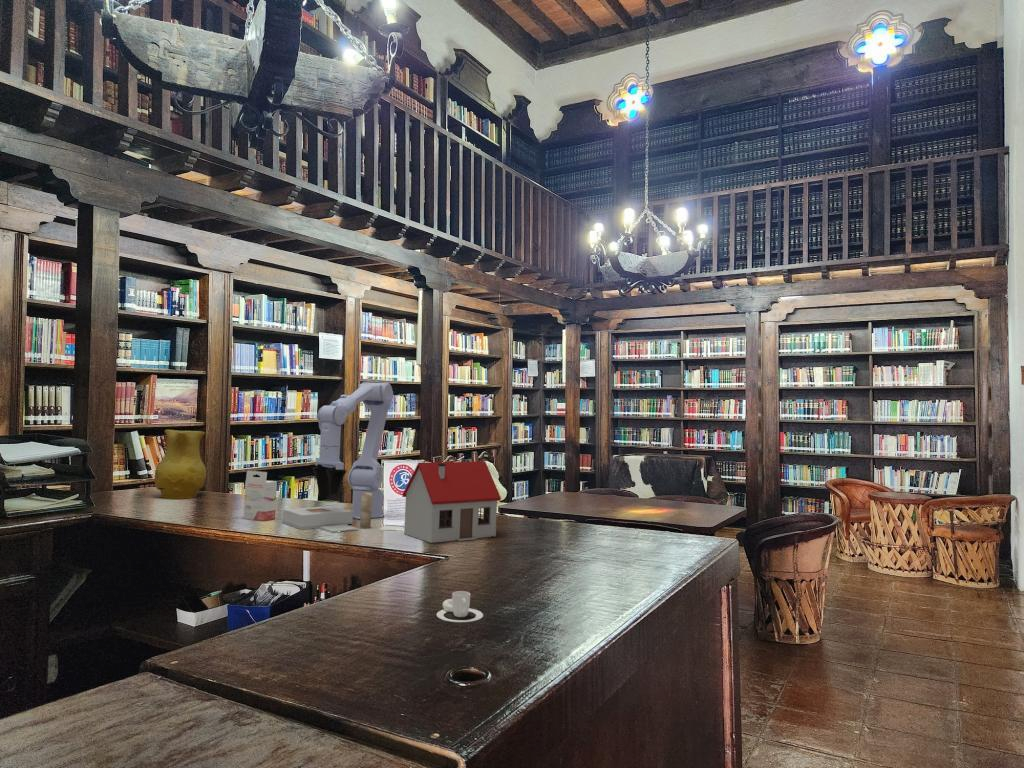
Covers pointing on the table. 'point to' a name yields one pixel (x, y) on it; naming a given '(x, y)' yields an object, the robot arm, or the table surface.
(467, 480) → the house model
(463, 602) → the teacup and saucer
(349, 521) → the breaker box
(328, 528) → the rest pad
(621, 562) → the table surface
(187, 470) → the pitcher
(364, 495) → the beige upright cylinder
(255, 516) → the ink cartridge box
